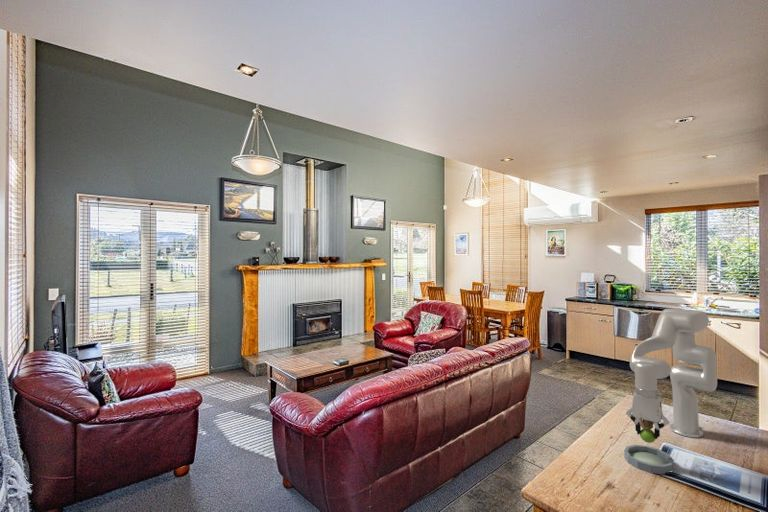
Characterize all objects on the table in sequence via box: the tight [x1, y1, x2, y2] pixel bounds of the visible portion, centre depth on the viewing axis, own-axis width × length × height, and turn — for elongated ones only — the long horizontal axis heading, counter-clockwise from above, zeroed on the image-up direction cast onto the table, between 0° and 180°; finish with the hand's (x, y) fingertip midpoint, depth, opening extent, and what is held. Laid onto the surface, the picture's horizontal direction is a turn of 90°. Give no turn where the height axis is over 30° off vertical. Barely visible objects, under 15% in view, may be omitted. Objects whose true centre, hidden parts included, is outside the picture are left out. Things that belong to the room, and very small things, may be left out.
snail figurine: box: [638, 414, 656, 444], centre depth 156 cm, size 5×6×12 cm
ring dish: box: [623, 444, 675, 475], centre depth 156 cm, size 16×16×3 cm
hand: (647, 435), depth 156 cm, fingers closed on snail figurine, 5 cm apart
